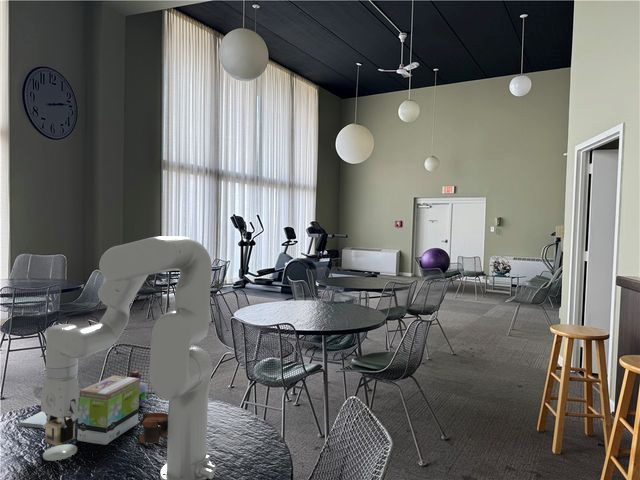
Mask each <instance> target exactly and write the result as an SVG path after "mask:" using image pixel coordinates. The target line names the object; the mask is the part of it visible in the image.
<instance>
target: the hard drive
mask: <svg viewBox="0 0 640 480" xmlns="http://www.w3.org/2000/svg"><path fill="white" fill-rule="evenodd" d="M68 414H69V412H68ZM46 418H47V416H46V414H45V413H44V412H43V411H42V410H41V411H40V412H38V413H36V414H34V415H32V416H30V417H28V418H26V419H24V420H22V421H19V423H18V427H26V428H27V427H28V428H37V429H38V428H39V429H44V428H45V427H46V422H47V421H46Z"/></svg>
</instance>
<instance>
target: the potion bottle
mask: <svg viewBox="0 0 640 480" xmlns="http://www.w3.org/2000/svg"><path fill="white" fill-rule="evenodd" d="M127 377H132V378H139V379H140V380H141V379H142V374H141V373H140V371H139V370H131V371H130V372H129V374H128V375H127ZM147 389H148V385H147V383H146V382H142V381H140V389H139V406H141V405H142V406H143V402H144V400H145V398H146V396H147ZM142 406H141V407H142Z"/></svg>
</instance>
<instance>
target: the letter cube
mask: <svg viewBox="0 0 640 480" xmlns="http://www.w3.org/2000/svg"><path fill="white" fill-rule="evenodd" d="M68 419H70V417H66V421H67V420H68ZM44 428H45V431H44V432H45V433H44V434H45V435H44V437H45V438H44V439H45V440H44V441H45V442H46V443H48V444H51V445H53V446H54V447H55V446H58V445H64V444H65V443H67V442H70V441H72V440H74V439H75V438H76V423H75V424H74V425H73V438H72V439H71V440H68V441H66V442H64V443H61V442H60V432H61V428H62V420H61V418H57V419H55V420H52V421H49V422H46V427H44Z"/></svg>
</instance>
